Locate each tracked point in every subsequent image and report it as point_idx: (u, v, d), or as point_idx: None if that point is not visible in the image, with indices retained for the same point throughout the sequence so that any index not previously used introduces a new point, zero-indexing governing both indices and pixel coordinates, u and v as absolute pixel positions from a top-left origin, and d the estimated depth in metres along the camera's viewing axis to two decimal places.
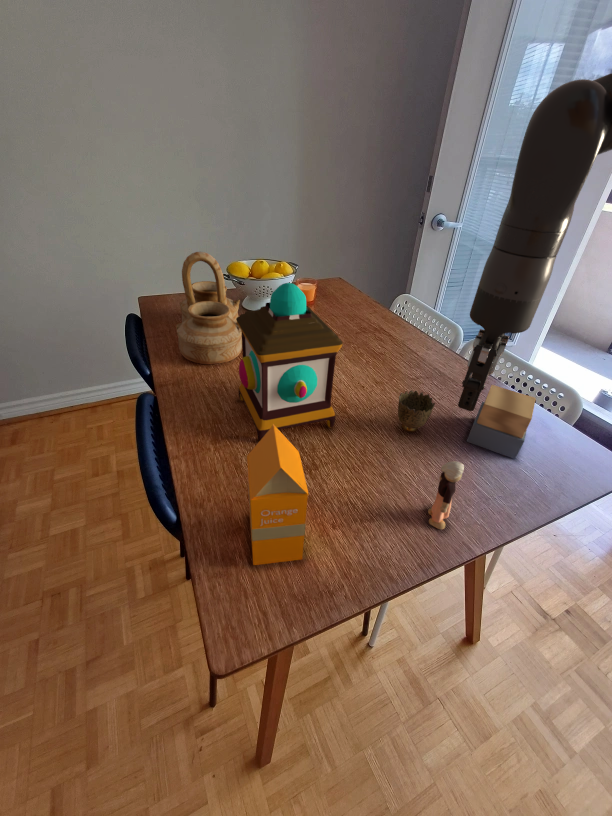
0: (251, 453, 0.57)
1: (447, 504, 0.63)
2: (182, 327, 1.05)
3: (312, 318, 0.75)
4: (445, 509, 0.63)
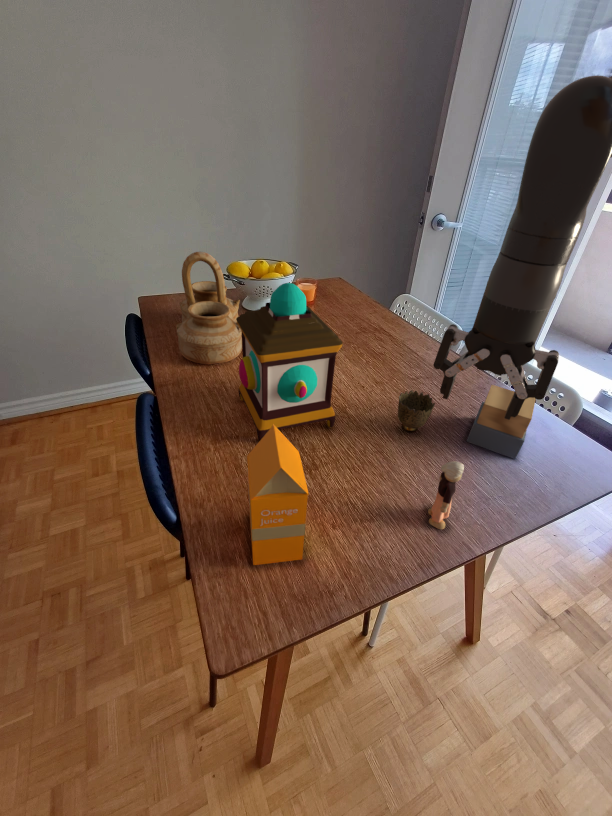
0: (251, 453, 0.57)
1: (447, 504, 0.63)
2: (182, 327, 1.05)
3: (312, 318, 0.75)
4: (445, 509, 0.63)
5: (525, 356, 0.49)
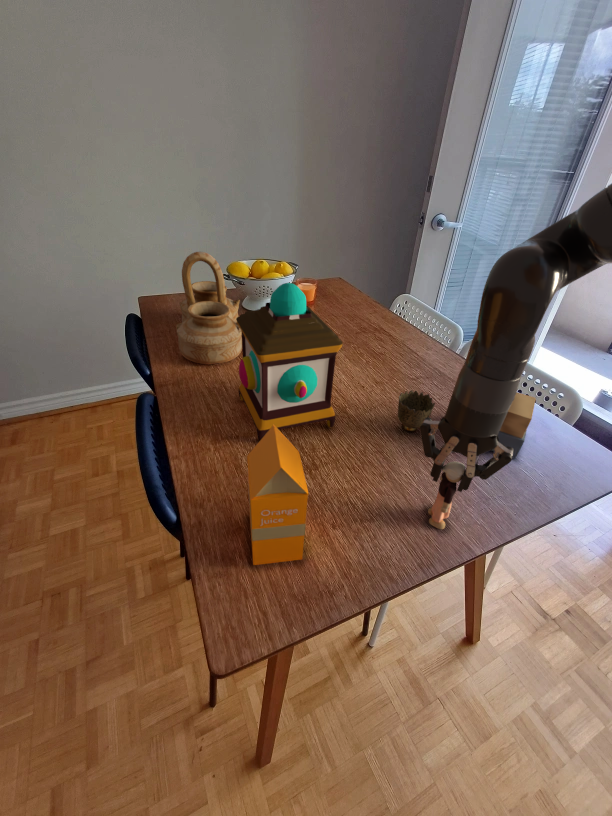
0: (251, 453, 0.57)
1: (448, 504, 0.62)
2: (182, 327, 1.05)
3: (312, 318, 0.75)
4: (446, 509, 0.63)
5: (489, 445, 0.56)
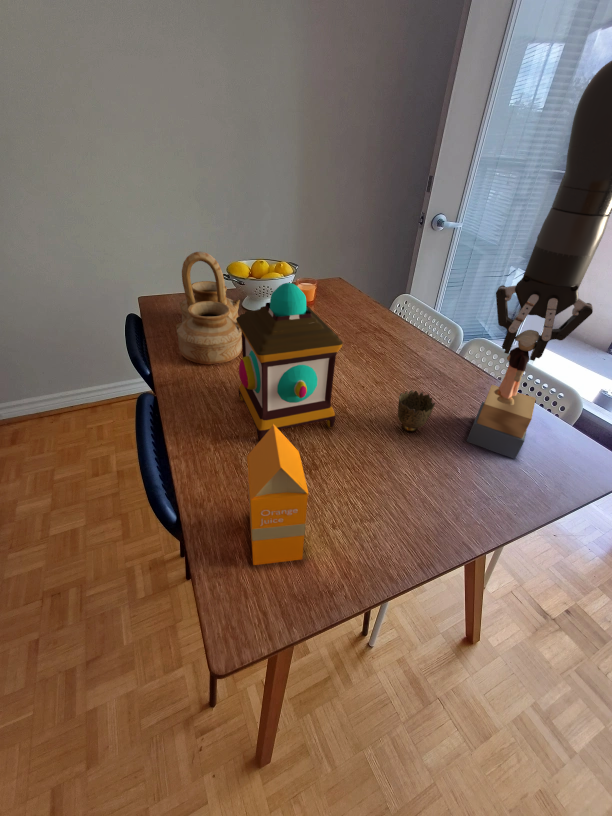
0: (251, 453, 0.57)
1: (522, 372, 0.64)
2: (182, 327, 1.05)
3: (312, 318, 0.75)
4: (520, 377, 0.64)
5: (569, 300, 0.58)
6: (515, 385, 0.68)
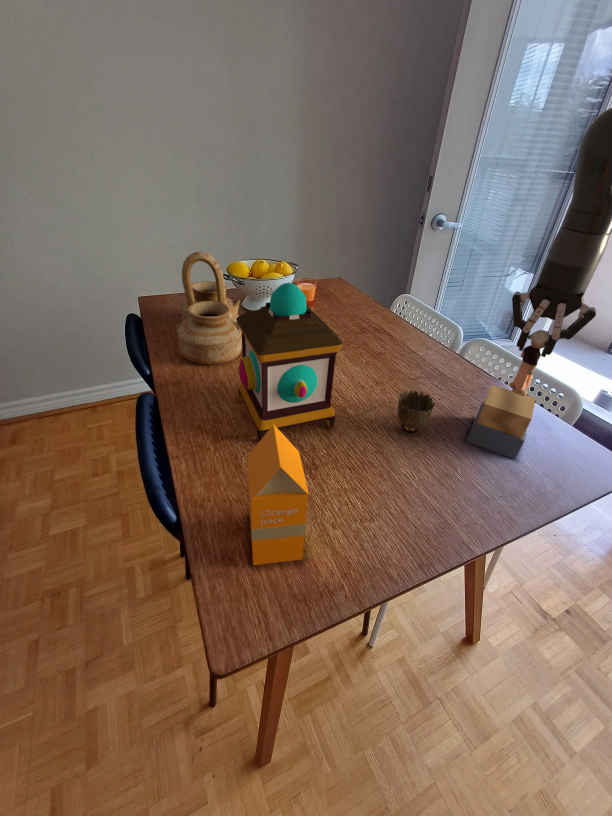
0: (251, 453, 0.57)
1: (534, 366, 0.73)
2: (182, 327, 1.05)
3: (312, 318, 0.75)
4: (532, 371, 0.74)
5: (576, 304, 0.67)
6: (528, 378, 0.78)
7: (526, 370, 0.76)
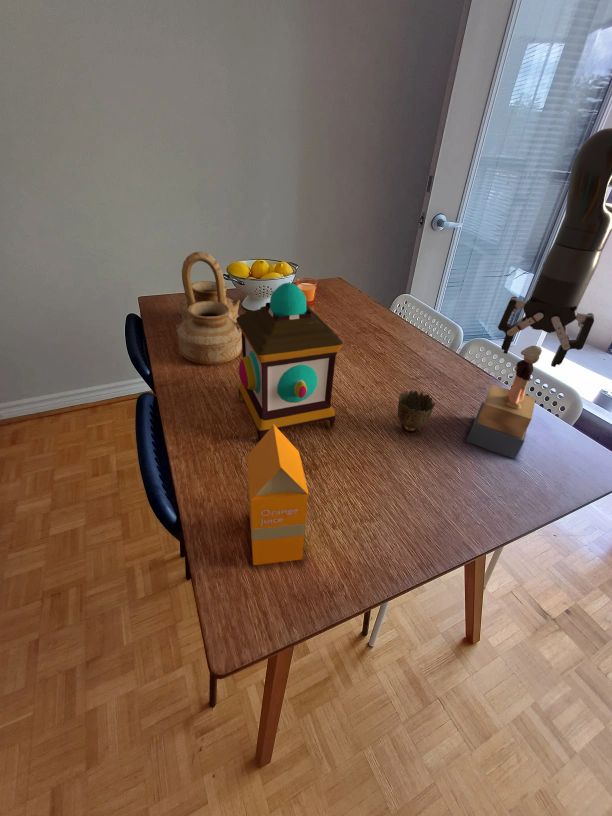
0: (251, 453, 0.57)
1: (527, 381, 0.75)
2: (182, 327, 1.05)
3: (312, 318, 0.75)
4: (525, 386, 0.76)
5: (570, 317, 0.69)
6: (521, 392, 0.80)
7: (519, 384, 0.78)
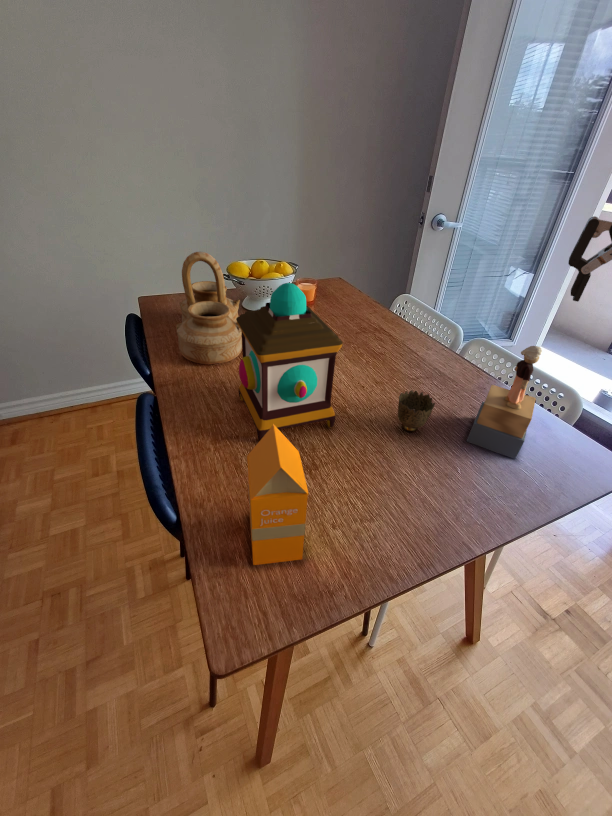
0: (251, 453, 0.57)
1: (527, 381, 0.75)
2: (182, 327, 1.05)
3: (312, 318, 0.75)
4: (525, 386, 0.76)
5: None
6: (521, 392, 0.80)
7: (519, 384, 0.78)
